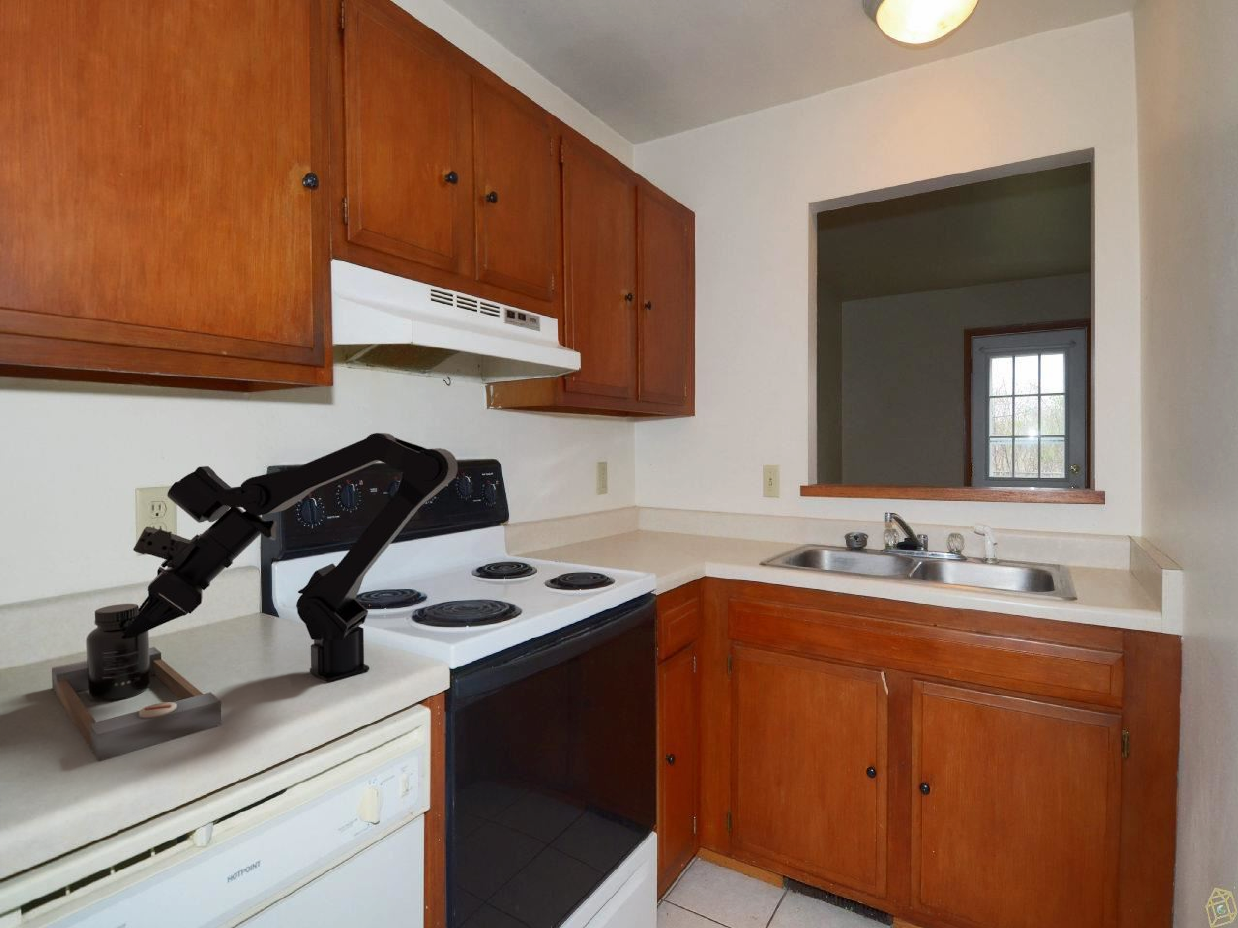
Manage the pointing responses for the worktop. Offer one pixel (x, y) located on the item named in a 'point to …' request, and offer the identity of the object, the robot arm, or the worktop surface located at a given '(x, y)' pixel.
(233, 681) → the worktop surface
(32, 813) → the worktop surface
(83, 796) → the worktop surface
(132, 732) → the wooden frame
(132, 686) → the supplement bottle
